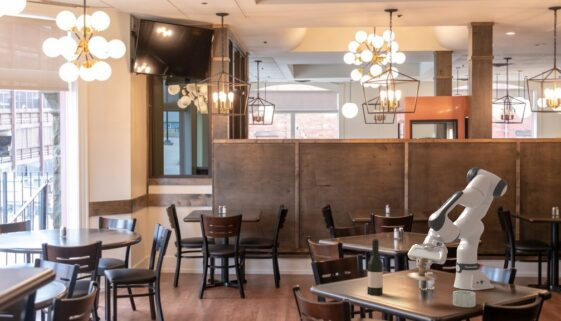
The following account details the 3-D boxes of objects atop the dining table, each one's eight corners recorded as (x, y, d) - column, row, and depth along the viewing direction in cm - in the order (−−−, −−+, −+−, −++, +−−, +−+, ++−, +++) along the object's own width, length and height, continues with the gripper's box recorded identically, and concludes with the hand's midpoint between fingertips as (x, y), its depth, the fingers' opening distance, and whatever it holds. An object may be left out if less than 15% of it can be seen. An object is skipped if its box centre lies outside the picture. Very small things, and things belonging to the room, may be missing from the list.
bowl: (467, 301, 351) (467, 290, 351) (479, 306, 341) (479, 294, 341) (448, 302, 348) (448, 291, 348) (460, 307, 338) (460, 295, 338)
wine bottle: (365, 292, 372) (366, 237, 371) (380, 292, 373) (381, 237, 372) (369, 295, 364) (369, 239, 363) (384, 295, 364) (384, 239, 364)
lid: (427, 273, 358) (428, 255, 357) (442, 280, 343) (442, 260, 343) (401, 274, 353) (402, 255, 353) (415, 281, 339) (416, 261, 339)
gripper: (411, 239, 360) (401, 260, 353) (447, 244, 346) (437, 266, 339) (415, 247, 363) (405, 267, 356) (450, 252, 350) (441, 273, 343)
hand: (421, 267), depth 348 cm, fingers closed on lid, 3 cm apart
